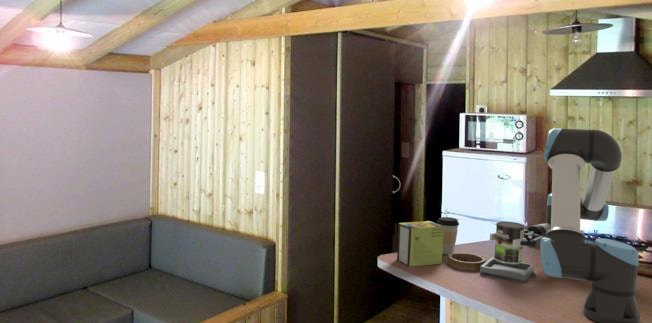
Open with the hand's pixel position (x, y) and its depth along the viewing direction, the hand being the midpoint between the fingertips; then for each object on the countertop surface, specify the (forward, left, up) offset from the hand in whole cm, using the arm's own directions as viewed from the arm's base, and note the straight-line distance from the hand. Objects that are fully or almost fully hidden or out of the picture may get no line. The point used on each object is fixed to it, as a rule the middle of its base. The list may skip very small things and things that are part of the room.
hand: (501, 240), depth 191 cm
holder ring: (+4, +14, -13) cm, 20 cm away
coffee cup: (+16, +27, -14) cm, 34 cm away
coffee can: (+4, -2, -9) cm, 10 cm away
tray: (+4, -2, -13) cm, 14 cm away
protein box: (-4, +31, -14) cm, 34 cm away
